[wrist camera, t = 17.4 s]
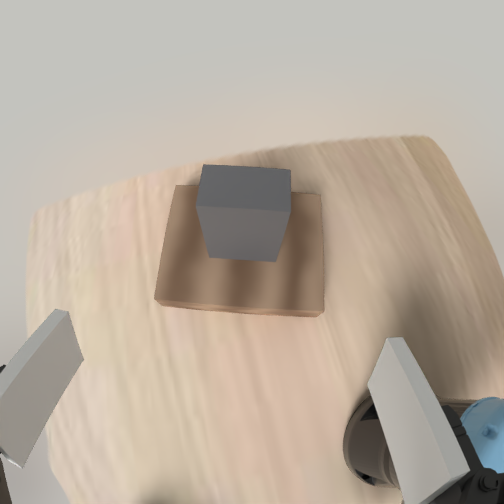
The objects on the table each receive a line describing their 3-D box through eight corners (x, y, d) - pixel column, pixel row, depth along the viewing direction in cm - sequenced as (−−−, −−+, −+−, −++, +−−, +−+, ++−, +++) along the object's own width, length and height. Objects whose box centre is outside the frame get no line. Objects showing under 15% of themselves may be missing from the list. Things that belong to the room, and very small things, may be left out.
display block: (314, 209, 43) (320, 194, 40) (316, 317, 37) (324, 311, 34) (180, 200, 43) (175, 185, 39) (162, 305, 37) (154, 298, 33)
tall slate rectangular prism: (276, 226, 38) (290, 166, 26) (275, 262, 36) (290, 211, 25) (213, 222, 37) (203, 161, 26) (209, 257, 36) (195, 205, 24)
